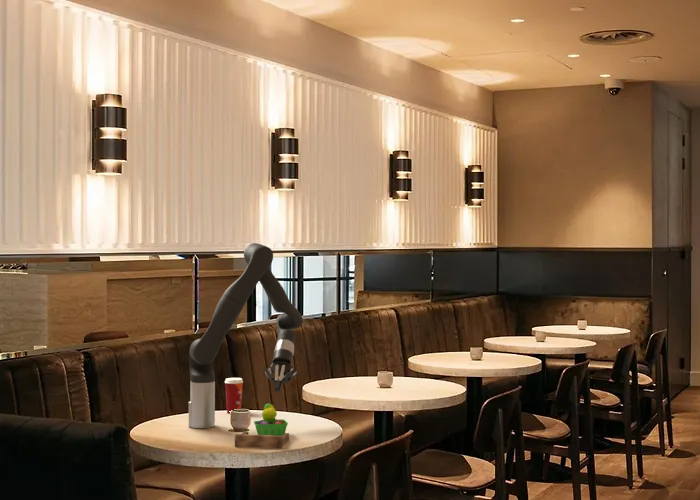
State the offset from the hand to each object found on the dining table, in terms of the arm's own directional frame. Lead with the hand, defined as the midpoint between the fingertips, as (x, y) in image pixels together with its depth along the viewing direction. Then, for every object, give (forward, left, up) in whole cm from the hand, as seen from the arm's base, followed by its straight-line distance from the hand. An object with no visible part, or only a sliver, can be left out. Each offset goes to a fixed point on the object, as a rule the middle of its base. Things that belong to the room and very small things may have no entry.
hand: (277, 390), depth 364 cm
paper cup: (-24, +29, -15) cm, 40 cm away
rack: (0, -24, -15) cm, 29 cm away
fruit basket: (0, -11, -15) cm, 19 cm away
